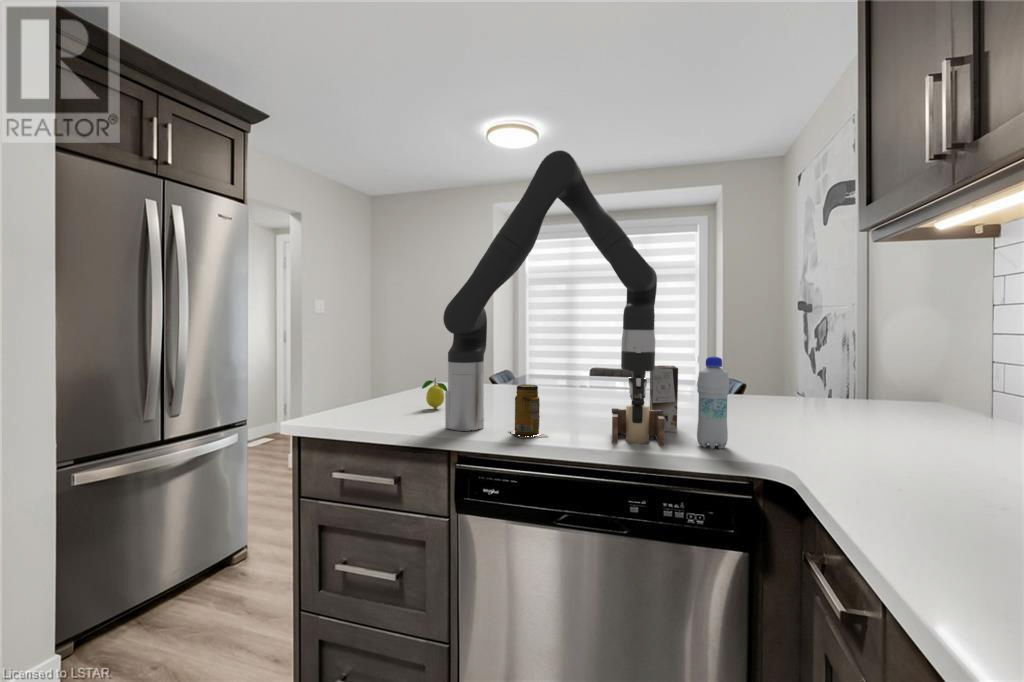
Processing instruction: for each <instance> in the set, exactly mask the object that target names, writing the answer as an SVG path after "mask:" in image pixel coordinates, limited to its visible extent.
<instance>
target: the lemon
mask: <svg viewBox="0 0 1024 682" xmlns="http://www.w3.org/2000/svg"><path fill="white" fill-rule="evenodd" d="M436 381H437V380H436V377H434V379H433V380H426V381H425V382H424V383H423V385H422V387H421V389H425V388H427V387H429V386H430V387H429V388H428V390H427V392H426V397H425V398H426V403H427V405H428V406H430V407H431V408H433V409H434V410H436V409H438V408H439V407H440V406H442V404H444V402H445V400H444V399H445V393H444V391H445V392H446V391H448V387H447V386H446V385H445V384H444V383H441V382H436ZM433 382H434V384H433ZM431 384H433V385H432V386H431Z"/></svg>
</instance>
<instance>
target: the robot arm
mask: <svg viewBox="0 0 1024 682" xmlns="http://www.w3.org/2000/svg"><path fill="white" fill-rule="evenodd" d="M557 199H558V200H559V201H561V202H562V203H563V204H564V205H565V206H566V207H567V208H568V209H569V210H570V211H571V212H572V213H573V215H574V216H575V217H576V219H578V221H579V223H580V224H581V226H582V227H583V229H584V231H585V232H586V233H587V235H588V237H589V238H590V240H591V241H592V243H593V244H594V246H595V247H596V248H597V250H598V251H599V252H600V254H601V255H602V256H603V258H604V259H605V260H606V261H607V262H608V263H609V264H610V267H611V268H612V269H613V271H614V272H615V274H616V276H617V278H618V279H619V280H620V282H621V283H622V285H623V286H624V287H625V288H626V305H625V307H624V309H623V314H622V315H623V316H622V317H623V318H622V335H621V356H620V357H621V358H620V360H621V361H620V368H621V370H624V371H628V372H631V373H630V376H631V377H628V387H629V388H628V389H629V391H628V393H629V397H630V400H631V404H630V405H632V422H633V423H642V418H643V405H645V398H646V396H647V394H646V393H647V392H646V391H647V389H646V387H647V384H648V383H647V382H648V381H647V380H648V379H647V378H646V377H644V373H645V372H650V371H653V370H654V369H655V366H656V359H655V358H656V335H655V321H656V320H655V303H656V296H657V287H658V276H657V272H656V270H655V269H654V268H653V267H652V266H651V265H650V264H649V263H648V262H647V261H646V260H645V258H644V257H642V255H641V253H639V251H638V250H637V249H636V248H635V247H634V244H633V242H632V241H631V239H630V237H629V236H628V235H627V234H626V232H625V231H624V230H623V228H622V227H621V226H620V225H619V224H618V222H617V221H616V220H615V219H614V218H613V217H612V215H611V214H610V213H609V212H608V211H607V210H606V209H605V208H604V207H603V206H602V205H601V204H600V202H599V201H598V200H597V198H596V197H595V196H594V194H593V193H592V191H591V190H590V188H589V186H588V184H587V182H586V180H585V178H584V176H583V174H582V170H581V167H580V166H579V164H578V162H577V161H576V160H575V158H574V157H573V156H572V154H570V152H568V151H567V150H563V149H562V150H555V151H552V152H550V153H548V154H547V155H546V156H545V157H544V158H543V159H542V160H541V162H540V164H539V165H538V168H537V169H536V171H535V173H534V175H533V177H532V178H531V180H530V183H528V186H527V188H526V190H525V192H524V194H523V195H522V197H521V199H520V200H519V202H517V205H516V206H515V207H514V209H513V210H512V212H511V213H510V215H509V216H508V217H507V219H506V221H505V222H504V224H503V225H502V227H501V228H500V230H499V231H498V233H497V234H496V235H495V237H493V240H492V241H491V243H490V244H489V246H488V248H487V250H486V251H485V252H484V254H483V256H482V257H481V259H480V260H479V262H478V263H477V266H475V269H474V270H473V271H472V274H471V275H470V277H469V278H468V279H467V280H466V282H465V283H464V284H463V285H462V287H461V288H460V289H459V291H458V292H457V293H456V294H455V295H454V296H453V297H452V299H451V300H450V302H449V303H448V304H447V305H446V307H445V309H444V311H443V317H442V318H443V319H442V320H443V325H444V327H445V328H446V330H447V331H448V332H449V333H451V334H453V338H452V339H453V340H452V345H451V347H450V348H449V350H448V352H447V391H445V393H444V399H445V400H444V402H445V408H444V409H445V419H444V420H445V423H444V424H445V425H444V426H445V429H447V430H451V431H462V432H466V431H467V432H469V431H471V430H472V431H478V429H479V430H482V429H484V425H485V423H484V422H485V417H484V416H485V414H484V413H485V407H484V406H485V405H484V404H485V403H484V402H485V398H484V396H485V392H484V391H485V390H484V389H485V388H484V386H485V369H484V368H485V366H484V365H485V364H484V363H485V362H484V360H485V358H484V357H485V353H486V349H487V338H488V337H487V334H488V333H487V332H488V331H487V330H488V317H487V312H486V309H485V307H486V305H487V304H488V302H489V301H490V299H491V297H493V295H494V293H496V292H497V291H498V290H499V288H501V287H502V285H504V284H505V283H507V281H508V280H509V279H511V278H512V276H514V275H515V273H517V271H518V270H519V269H520V268H521V266H522V265H523V264H524V262H525V261H526V259H527V258H528V256H529V255H530V253H531V252H532V250H533V249H534V246H535V244H536V242H537V239H538V237H539V234H540V232H541V227H542V226H543V222H544V219H545V218H546V215H547V213H548V211H549V210H550V208H551V207H552V206H553V204H554V203H555V202H556V200H557Z"/></svg>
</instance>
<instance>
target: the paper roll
mask: <svg viewBox="0 0 1024 682" xmlns="http://www.w3.org/2000/svg"><path fill="white" fill-rule="evenodd" d="M625 409H626V434H625V441H626V442H627V441H628V442H627V443H630V442H631V443H632V444H647V443H649V442H650V435H649V410H650V405H649V406H648V405H645V404H644V405H643V418H642V423H633V422H632V405H631V404H628V405H626V406H625Z"/></svg>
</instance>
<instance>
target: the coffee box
mask: <svg viewBox="0 0 1024 682" xmlns="http://www.w3.org/2000/svg"><path fill="white" fill-rule="evenodd" d="M678 394H679V368H678V367H676V366H675V365H655V369H654V370H653V371H649V410H663V411H664V415H663V417H664V419H665V421H664V432H671V433H677V432H678V399H679V397H678Z"/></svg>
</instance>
